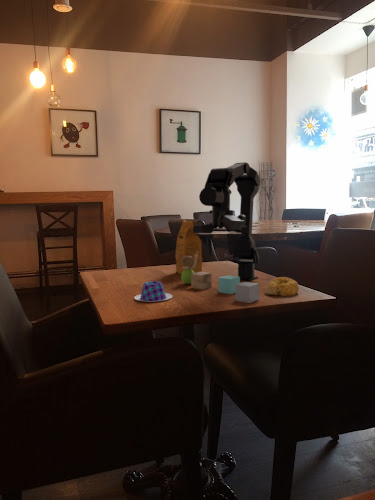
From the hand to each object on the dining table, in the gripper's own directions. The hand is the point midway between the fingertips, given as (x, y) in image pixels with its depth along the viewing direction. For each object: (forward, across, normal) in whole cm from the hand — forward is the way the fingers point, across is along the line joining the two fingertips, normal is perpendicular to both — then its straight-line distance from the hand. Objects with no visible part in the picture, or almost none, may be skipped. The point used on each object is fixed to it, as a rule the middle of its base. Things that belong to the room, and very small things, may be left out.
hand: (220, 255), depth 135 cm
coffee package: (+11, +13, +36) cm, 39 cm away
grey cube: (+13, -1, -14) cm, 19 cm away
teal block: (+12, +3, -1) cm, 13 cm away
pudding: (+14, -21, +8) cm, 26 cm away
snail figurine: (+12, 0, +18) cm, 21 cm away
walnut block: (+12, 0, +10) cm, 16 cm away
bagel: (+12, +14, -14) cm, 23 cm away
